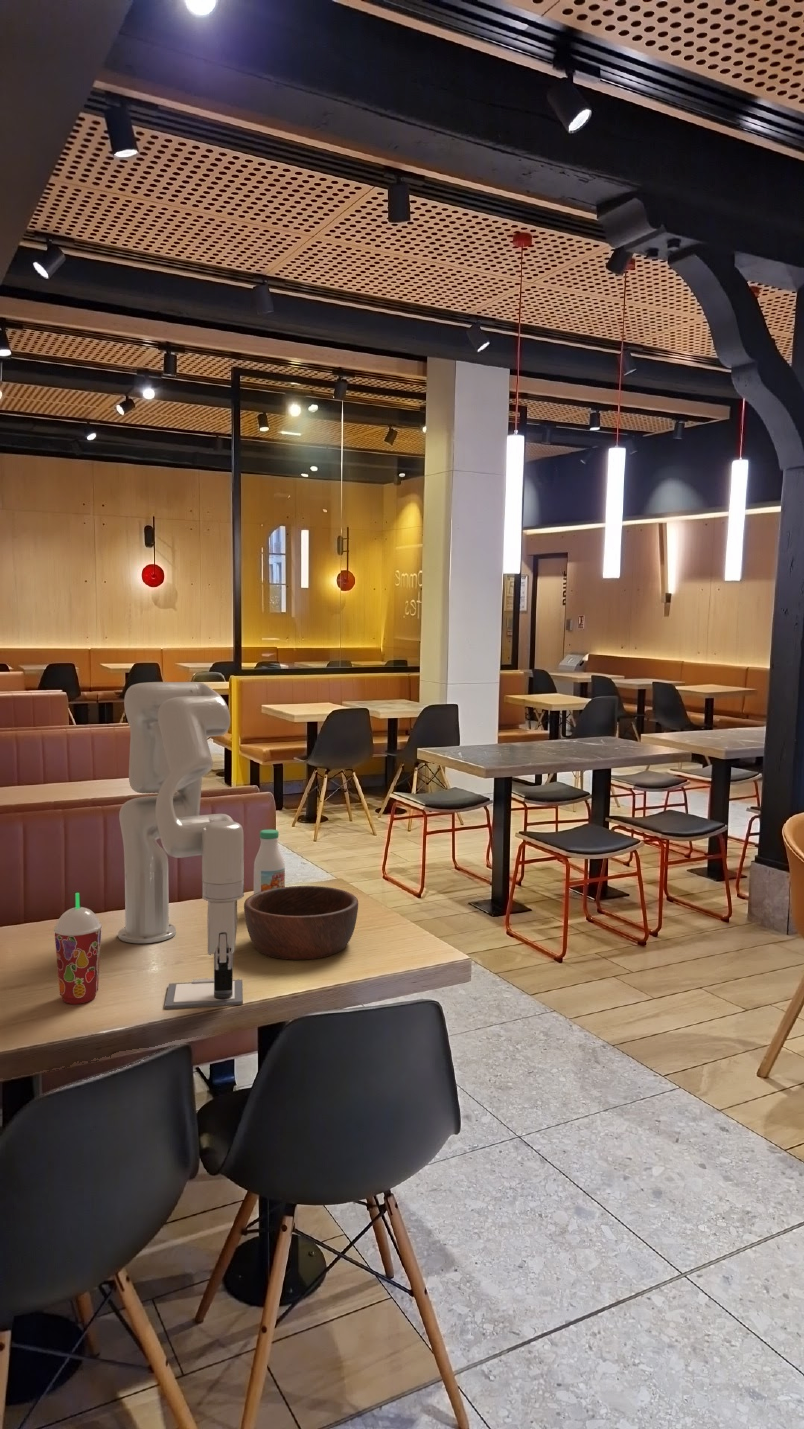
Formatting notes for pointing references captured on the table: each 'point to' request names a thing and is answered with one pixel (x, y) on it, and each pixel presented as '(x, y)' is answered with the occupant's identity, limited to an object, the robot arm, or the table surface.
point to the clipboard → (200, 994)
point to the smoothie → (78, 954)
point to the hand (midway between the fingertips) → (223, 984)
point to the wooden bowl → (301, 921)
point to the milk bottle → (269, 863)
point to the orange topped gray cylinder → (229, 993)
